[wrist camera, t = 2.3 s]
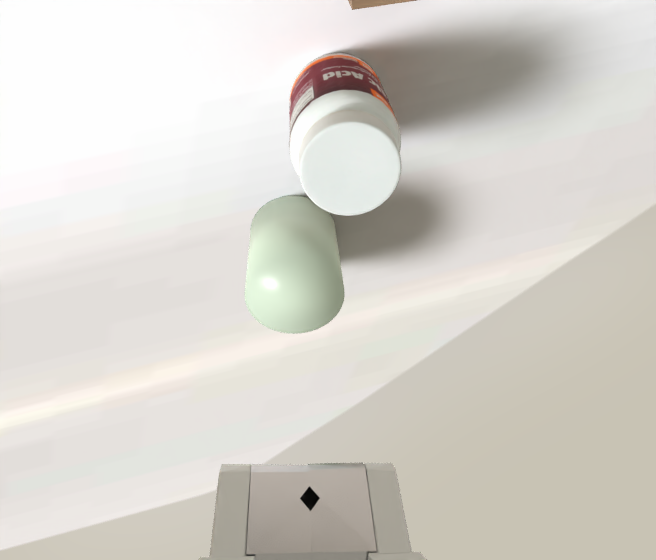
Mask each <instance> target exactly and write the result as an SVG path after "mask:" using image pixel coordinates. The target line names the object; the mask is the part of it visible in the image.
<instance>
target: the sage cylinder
mask: <svg viewBox="0 0 656 560" xmlns="http://www.w3.org/2000/svg"><path fill="white" fill-rule="evenodd" d="M343 301H344V286H343V278H342V271H341V264H340V257H339V250H338V243H337V236H336V229H335V223H334V220H333V218H332V216H331V214H330V213H329V212H328V211H325V210H324V209H322V208H320V207H319V206H317V205H316V204H315V203H314V202H313V201H312V200H311V199H310V198H307V197H303V196H295V195H293V196H283V197H279V198H276V199H274V200H271V201H270V202H268V203H266V204H265V205H264V206H262V207H261V208H260V209H259V211H258V212H257V213H256V215H255V217H254V218H253V221H252V224H251V230H250V240H249V251H248V262H247V273H246V284H245V302H246V305H247V308H248V310H249V312H250V313H251V314H252V316H253V317H254V318H255V319H256V320H257V321H258V322H259V323H261V324H262V325H264V326H266V327H268V328H270V329H272V330H275V331H278V332H283V333H293V334H295V333H305V332H309V331H313V330H316V329H318V328H320V327H322V326H324V325H326V324H327V323H329V322H330V321H331V320H332V319H333V318H334V317H335V316H336V315H337V314H338V312H339V311H340V309H341V307H342V304H343Z"/></svg>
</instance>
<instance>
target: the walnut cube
mask: <svg viewBox="0 0 656 560" xmlns="http://www.w3.org/2000/svg"><path fill="white" fill-rule="evenodd" d="M348 1H349V3H350V6H351V8H352V10H354V9H360V8H367V7H374V6H381V5H388V4H395V3H402V2H409V1H416V0H348Z"/></svg>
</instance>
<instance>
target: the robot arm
mask: <svg viewBox="0 0 656 560" xmlns="http://www.w3.org/2000/svg"><path fill="white" fill-rule="evenodd" d="M199 560H427V559H426V558H425V557H424V556H423V554H422V553H421V552H412V551H411V546H410V541H409V535H408V530H407V525H406V520H405V515H404V510H403V505H402V500H401V494H400V490H399V484H398V479H397V474H396V469H395V467H394V465H393V464H392V463H365V464H363V463H328V464H327V463H325V464H308V465H263V464H252V466H251V464H222V466H221V469H220V472H219V479H218V487H217V496H216V506H215V513H214V523H213V530H212V539H211V548H210V556H209V557H200V558H199Z"/></svg>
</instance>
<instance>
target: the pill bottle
mask: <svg viewBox="0 0 656 560" xmlns="http://www.w3.org/2000/svg"><path fill="white" fill-rule="evenodd" d="M289 114H290V139H289V151H290V157H291V161H292V164H293V166H294V169H295V170H296V172H297V174H298V175H299V177H300V180H301V184H302V186H303V189H304V191H305V192H306V194H307V196H308V197H309V198H310V199H311V200H312V201H313V202H314V203H315V204H316V205H317V206H319V207H320V208H322V209H324V210H325V211H328V212H330V213H333V214H337V215H345V216H351V215H359V214H363V213H366V212H369V211H371V210H373V209H375V208H377V207H378V206H380V205H381V204H382V203H384V202H385V201H386V200H387V199H388V198H389V197H390V196H391V194H392V193H393V191H394V190H395V188H396V186H397V184H398V182H399V178H400V174H401V158H400V148H401V134H400V130H399V126H398V123H397V120H396V118H395V115H394V113H393V110H392V108H391V106H390V103H389V101H388V98H387V96H386V94H385V92H384V89H383V87H382V85H381V82H380V80H379V78H378V76H377V75H376V73H375V72H374V70H373V69H372V68H371V67H370V66H369V65H368V64H367V63H365V62H364V61H363V60H361V59H359V58H357V57H355V56H352V55H348V54H343V53H332V54H327V55H323V56H321V57H318V58H316V59H314V60H313V61H311V62H310V63H308V64H307V65H306V66H305V67H304V68H303V69H302V70H301V71H300V73H299V74H298V76H297V77H296V79H295V81H294V83H293V86H292V88H291V93H290V113H289Z"/></svg>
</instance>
